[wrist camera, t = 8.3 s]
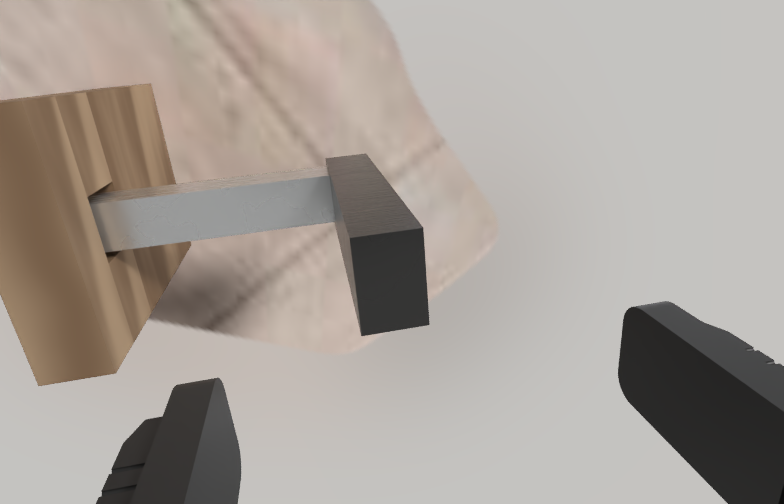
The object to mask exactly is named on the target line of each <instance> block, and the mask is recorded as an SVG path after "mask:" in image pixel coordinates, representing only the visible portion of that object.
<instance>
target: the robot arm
mask: <svg viewBox="0 0 784 504" xmlns="http://www.w3.org/2000/svg"><path fill="white" fill-rule="evenodd" d="M618 378H619V383H620V386H621V389H622V391H623V394H624V396H625V397H626V399H627V400H628V402H629V403H630V404H631V405H632V406H633V407H634V408H635V409H636V410H637V411H638V412H639V413H640V414H641V415H642V416H643V417H644V418H645V419H646V420H647V421H648V422H649V423H650V424H651V425H652V426H653V427H654V428H655V429H656V430H657V431H658V432H659V434H660V435H661V436H662V437H663V438H664V439H665V440H666V441H667V442H668V443H669V444H670V445H671V446H672V447H673V448H674V449H675V450H676V451H677V452H678V453H679V454H680V455H681V456H682V457H683V458H684V459H685V460H686V461H687V462H688V463H689V464H690V465H691V466H692V467H693V468H694V469H695V470H696V471H697V472H698V473H699V474H700V475H701V477H703V478H704V480H705V481H706V482H707V483H708V484H709V485H710V486H711V487H712V488H713V489H714V490H715V491H716V492H717V493H718V494H719V495H720V496H721V497H722V498H723V499H724V500H725V501H726V502H727V503H728V504H784V366H782V365H781V364H775V363H774V360H773V359H771V358H769V357H768V356H766V355H764V354H763V353H762V352H760V351H758V350H757V351H754V349H753V347H752V346H750V345H749V344H747V343H746V342H744V341H742V340H741V339H739V338H738V337H736V336H734V335H733V334H731V333H730V332H728V331H725V330H722V329H720V328H717V327H714V326H711V325H709V324H706V323H704V322H702V321H700V320H698V319H697V318H695V317H694V316H692V315H691V314H689V313H687V312H686V311H684V310H683V309H681V308H680V307H678V306H676V305H675V304H673V303H671V302H666V301H665V302H659V303H653V304H647V305H641V306H636V307H631V308H629V309H628V310H627V311H626V313H625V315H624V320H623V329H622V338H621V348H620V358H619V368H618ZM240 481H241V458H240V449H239V444H238V440H237V436H236V433H235V428H234V424H233V420H232V416H231V413H230V409H229V405H228V401H227V397H226V393H225V389H224V386H223V383H222V381H221V380H220V379H219V378H214V379H208V380H203V381H197V382H191V383H185V384H180V385H176V386H175V387H174V388H173V390H172V393H171V396H170V398H169V401H168V404H167V406H166V409H165V412H164V414H163V417H158V418H153V419H147V420H145V421H144V422H143V423H142V424H141V425H140V426H139V427H138V428H137V429H136V431H135V432H134V433H133V434H132V435H131V436H130V437H129V438H128V439H127V440H126V441H125V442H124V443H123V445H122V447H121V449H120V452H119V454H118V456H117V458H116V461H115V463H114V465H113V467H112V474H109V476H108V478H107V480H106V483H105V485H104V487H103V489H102V496H101V497H99V498H98V500H97V503H96V504H238V495H239V489H240Z"/></svg>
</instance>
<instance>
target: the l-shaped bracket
mask: <svg viewBox="0 0 784 504" xmlns="http://www.w3.org/2000/svg"><path fill="white" fill-rule="evenodd" d="M87 198H88V201H89V204H90V207H91V210H92V214H93V217H94V220H95V223H96V226H97V229H98V232H99V235H100V238H101V242H102V245H103V248H104V251H105V252H113V251H120V250H128V249H135V248H143V247H150V246H158V245H165V244H172V243H180V242H187V241H195V240H202V239H210V238H217V237H225V236H232V235H240V234H247V233H255V232H262V231H269V230H277V229H284V228H292V227H299V226H307V225H314V224H322V223H329V222H335V226H336V230H337V234H338V239H339V243H340V247H341V251H342V256H343V260H344V264H345V268H346V273H347V277H348V281H349V285H350V289H351V294H352V298H353V302H354V306H355V311H356V315H357V319H358V323H359V327H360V332H361V336H365V335H371V334H377V333H383V332H389V331H395V330H401V329H407V328H413V327H419V326H425V325H429V312H428V296H427V281H426V265H425V249H424V234H423V227H422V226H421V224H420V223H419V222H418V220H417V219H416V218H415V217H414V215H413V214H412V213H411V211H410V210H409V209H408V207H407V206H406V205H405V204H404V202H403V201H402V200H401V198H400V197H399V196H398V195H397V193H396V192H395V191H394V189H393V188H392V187H391V185H390V184H389V183H388V182H387V180H386V179H385V178H384V176H383V175H382V174H381V172H380V171H379V170H378V169H377V167H376V166H375V165H374V163H373V162H372V161H371V159H370V158H369V157H368V156H367V154H359V155H351V156H342V157H334V158H326V166H324V167H315V168H307V169H299V170H290V171H282V172H273V173H265V174H256V175H248V176H240V177H231V178H223V179H214V180H206V181H197V182H189V183H181V184H172V185H164V186H155V187H147V188H139V189H130V190H122V191H113V192H105V193H96V194H91V195H90V196H88V197H87Z"/></svg>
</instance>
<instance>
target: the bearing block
mask: <svg viewBox="0 0 784 504" xmlns="http://www.w3.org/2000/svg"><path fill="white" fill-rule="evenodd" d="M172 184H176V182H175V178H174V174H173V170H172V166H171V162H170V158H169V154H168V150H167V146H166V142H165V139H164V135H163V131H162V127H161V123H160V119H159V115H158V111H157V107H156V103H155V99H154V95H153V91H152V87H151V84H143V85H132V86H121V87H110V88H100V89H92V90H83V91H75V92H67V93H59V94H51V95H42V96H34V97H26V98H18V99H10V100H1V101H0V295H1V297H2V300H3V302H4V304H5V307H6V309H7V312H8V314H9V316H10V319H11V321H12V324H13V326H14V328H15V331H16V333H17V335H18V338H19V340H20V343H21V345H22V347H23V350H24V352H25V354H26V357H27V359H28V362H29V364H30V366H31V369H32V371H33V374H34V376H35V378H36V381H37V383H38V386H42V385H48V384H54V383H60V382H67V381H73V380H78V379H85V378H90V377H97V376H102V375H109V374H114V373H116V372H117V370H118V369H119V367H120V365H121V364H122V362H123V360H124V358H125V357H126V355H127V353H128V352H129V350H130V348H131V347H132V345H133V343H134V341H135V340H136V338H137V336H138V335H139V333H140V331H141V330H142V328H143V326H144V324H145V323H146V321H147V319H148V318H149V316H150V314H151V313H152V311H153V309H154V307H155V306H156V304H157V302H158V301H159V299H160V297H161V295H162V294H163V292H164V290H165V289H166V287H167V285H168V284H169V282H170V280H171V278H172V277H173V275H174V273H175V272H176V270H177V268H178V267H179V265H180V263H181V261H182V260H183V258H184V256H185V255H186V253H187V251H188V250H189V248H190V246H191V242H190V241H187V242H180V243H172V244H165V245H158V246H150V247H143V248H135V249H128V250H120V251H113V252H105V251H104V248H103V245H102V242H101V238H100V235H99V232H98V229H97V226H96V223H95V220H94V217H93V214H92V210H91V207H90V204H89V201H88V198H87V197H88V196H90V195H91V194H96V193H105V192H113V191H122V190H130V189H139V188H147V187H155V186H164V185H172Z"/></svg>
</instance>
